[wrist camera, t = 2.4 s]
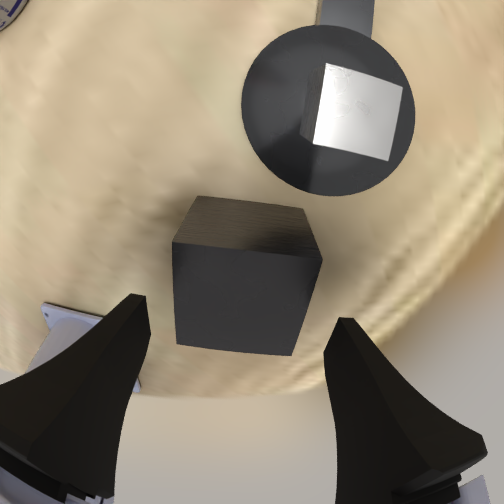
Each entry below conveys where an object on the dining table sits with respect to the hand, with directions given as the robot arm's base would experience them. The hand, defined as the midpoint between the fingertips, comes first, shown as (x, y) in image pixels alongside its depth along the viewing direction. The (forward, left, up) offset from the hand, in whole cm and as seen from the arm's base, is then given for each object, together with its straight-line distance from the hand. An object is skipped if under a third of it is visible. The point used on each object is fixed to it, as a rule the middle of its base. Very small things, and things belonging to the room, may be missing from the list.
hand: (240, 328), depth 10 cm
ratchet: (+14, -3, -6) cm, 15 cm away
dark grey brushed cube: (0, 0, -6) cm, 6 cm away
